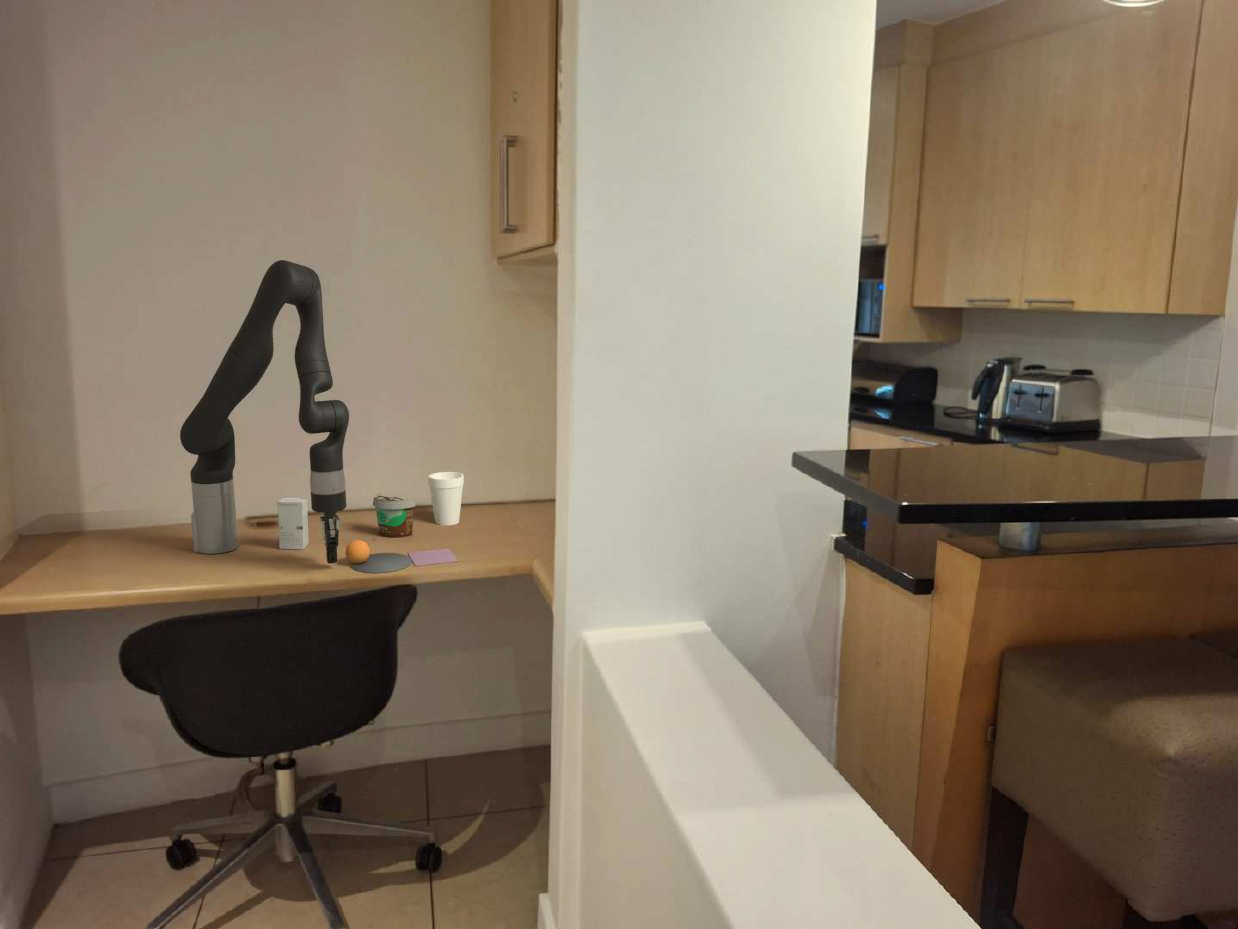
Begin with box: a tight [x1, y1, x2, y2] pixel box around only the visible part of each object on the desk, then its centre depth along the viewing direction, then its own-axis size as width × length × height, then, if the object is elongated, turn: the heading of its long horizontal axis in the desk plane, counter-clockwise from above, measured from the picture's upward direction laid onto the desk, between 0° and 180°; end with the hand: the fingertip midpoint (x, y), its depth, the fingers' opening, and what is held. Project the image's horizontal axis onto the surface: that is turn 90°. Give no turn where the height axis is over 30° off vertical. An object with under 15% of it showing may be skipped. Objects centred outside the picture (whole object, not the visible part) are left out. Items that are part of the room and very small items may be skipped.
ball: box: [345, 539, 371, 564], centre depth 207 cm, size 6×6×6 cm
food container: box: [372, 492, 416, 539], centre depth 228 cm, size 12×6×10 cm, turn 62°
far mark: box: [407, 548, 459, 567], centre depth 212 cm, size 10×10×1 cm
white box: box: [277, 496, 309, 550], centre depth 217 cm, size 6×4×12 cm
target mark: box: [349, 552, 413, 574], centre depth 208 cm, size 14×14×1 cm
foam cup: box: [427, 471, 465, 526], centre depth 240 cm, size 10×9×13 cm
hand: (332, 562), depth 203 cm, fingers closed
